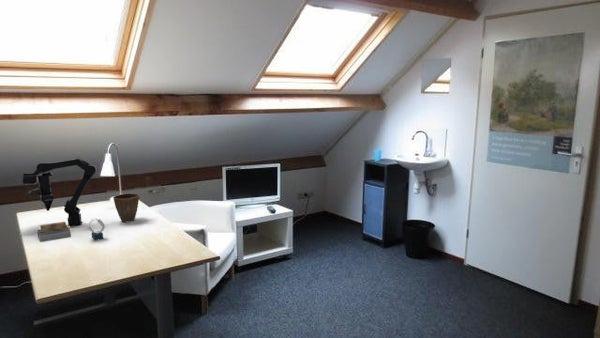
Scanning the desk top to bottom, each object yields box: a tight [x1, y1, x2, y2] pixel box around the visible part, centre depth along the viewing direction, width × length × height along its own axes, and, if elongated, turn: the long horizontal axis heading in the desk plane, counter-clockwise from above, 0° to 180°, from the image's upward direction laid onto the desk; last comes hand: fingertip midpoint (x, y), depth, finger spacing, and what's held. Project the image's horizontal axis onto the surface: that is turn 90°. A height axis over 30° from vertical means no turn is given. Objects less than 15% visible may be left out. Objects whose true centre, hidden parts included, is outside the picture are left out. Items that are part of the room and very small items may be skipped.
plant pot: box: [113, 193, 140, 223], centre depth 256 cm, size 15×15×16 cm
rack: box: [37, 224, 72, 242], centre depth 228 cm, size 15×15×4 cm
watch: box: [87, 218, 106, 241], centre depth 222 cm, size 6×8×11 cm
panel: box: [39, 221, 67, 233], centre depth 228 cm, size 12×2×6 cm, turn 126°
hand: (47, 209), depth 243 cm, fingers open, 9 cm apart
